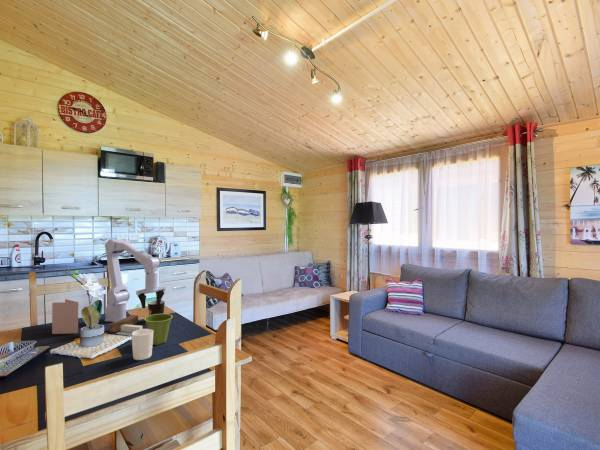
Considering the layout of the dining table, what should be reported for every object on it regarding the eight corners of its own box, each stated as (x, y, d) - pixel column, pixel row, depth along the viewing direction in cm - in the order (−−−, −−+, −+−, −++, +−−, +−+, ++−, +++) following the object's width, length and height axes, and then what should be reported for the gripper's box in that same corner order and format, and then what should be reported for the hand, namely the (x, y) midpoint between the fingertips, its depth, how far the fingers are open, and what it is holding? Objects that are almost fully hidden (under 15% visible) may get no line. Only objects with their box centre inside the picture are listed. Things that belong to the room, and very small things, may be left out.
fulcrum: (115, 334, 153) (115, 327, 153) (129, 328, 162) (129, 322, 162) (134, 336, 151) (134, 329, 151) (146, 330, 160) (146, 323, 160)
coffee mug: (147, 319, 178) (147, 301, 177) (164, 317, 181) (164, 299, 181) (147, 325, 167) (147, 306, 167) (165, 323, 171) (165, 304, 171)
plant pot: (145, 349, 137) (146, 323, 137) (142, 340, 147) (142, 315, 147) (174, 343, 143) (175, 318, 143) (169, 335, 153) (169, 312, 153)
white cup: (147, 351, 135) (147, 327, 135) (156, 356, 130) (157, 331, 130) (128, 356, 129) (128, 332, 129) (136, 362, 124) (137, 337, 124)
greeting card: (79, 332, 155) (80, 301, 155) (62, 337, 148) (63, 305, 148) (66, 328, 160) (67, 298, 160) (49, 333, 154) (50, 302, 153)
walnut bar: (109, 332, 157) (109, 324, 157) (132, 322, 172) (132, 314, 172) (115, 333, 156) (115, 324, 156) (138, 322, 172) (138, 315, 172)
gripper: (140, 283, 160) (140, 310, 160) (168, 279, 171) (168, 305, 171) (134, 281, 164) (134, 308, 164) (162, 278, 175) (161, 302, 175)
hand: (150, 306), depth 168 cm, fingers open, 7 cm apart
